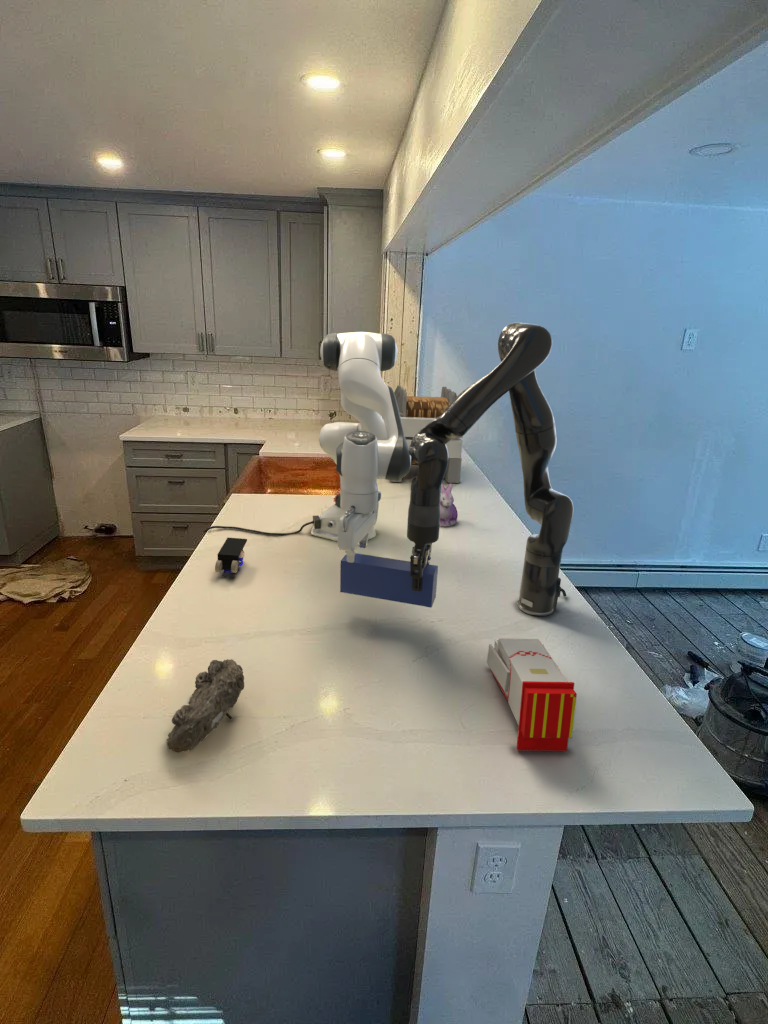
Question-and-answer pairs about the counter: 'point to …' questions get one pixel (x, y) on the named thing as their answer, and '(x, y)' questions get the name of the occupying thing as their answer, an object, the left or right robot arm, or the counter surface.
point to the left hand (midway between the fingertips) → (357, 553)
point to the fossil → (206, 705)
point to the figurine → (447, 507)
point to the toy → (534, 693)
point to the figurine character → (230, 556)
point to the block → (387, 580)
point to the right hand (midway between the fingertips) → (419, 584)
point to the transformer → (421, 414)
